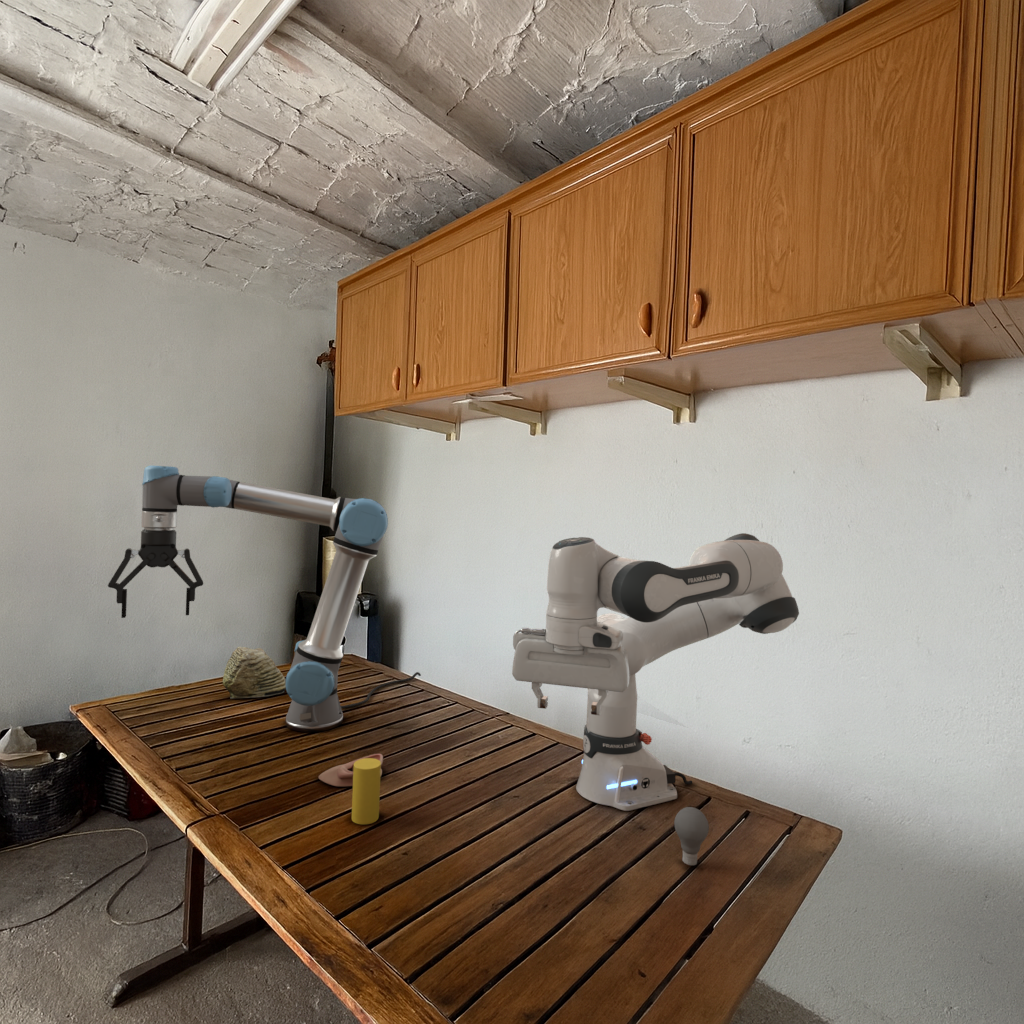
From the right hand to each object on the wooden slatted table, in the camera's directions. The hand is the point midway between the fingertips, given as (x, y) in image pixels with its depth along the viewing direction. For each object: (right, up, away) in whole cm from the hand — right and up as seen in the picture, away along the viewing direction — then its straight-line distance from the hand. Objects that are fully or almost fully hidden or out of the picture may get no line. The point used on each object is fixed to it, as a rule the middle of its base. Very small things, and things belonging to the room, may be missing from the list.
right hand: (568, 710), depth 110 cm
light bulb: (+22, -29, +4) cm, 37 cm away
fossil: (-90, -23, +88) cm, 128 cm away
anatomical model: (-46, -26, +34) cm, 63 cm away
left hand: (-97, +9, +45) cm, 108 cm away
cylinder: (-39, -26, +16) cm, 50 cm away
